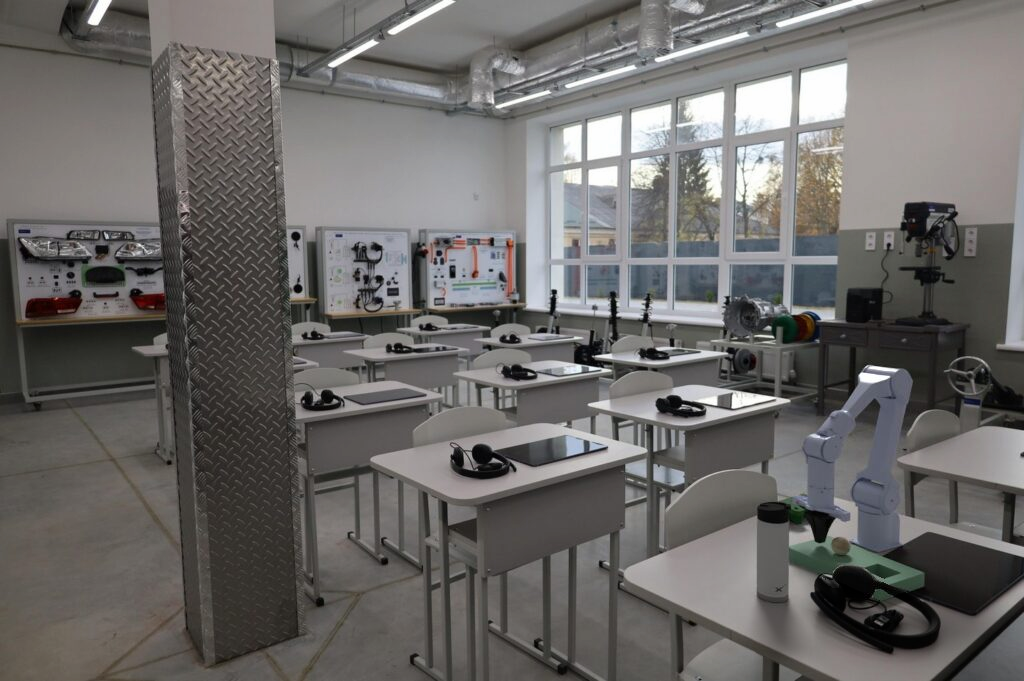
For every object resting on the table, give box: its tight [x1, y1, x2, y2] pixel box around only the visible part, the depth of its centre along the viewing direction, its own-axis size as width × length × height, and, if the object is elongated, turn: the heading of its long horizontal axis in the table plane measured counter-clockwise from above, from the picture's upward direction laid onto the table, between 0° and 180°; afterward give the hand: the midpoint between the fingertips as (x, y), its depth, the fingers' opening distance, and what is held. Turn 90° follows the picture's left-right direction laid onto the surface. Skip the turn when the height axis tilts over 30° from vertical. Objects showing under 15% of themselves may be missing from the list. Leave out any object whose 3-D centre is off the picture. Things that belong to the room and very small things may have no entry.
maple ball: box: [831, 536, 851, 555], centre depth 154 cm, size 4×4×4 cm
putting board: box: [789, 535, 926, 602], centre depth 152 cm, size 24×14×3 cm, turn 25°
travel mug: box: [756, 501, 791, 603], centre depth 141 cm, size 6×7×20 cm
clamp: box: [777, 493, 809, 526], centre depth 185 cm, size 12×6×9 cm, turn 117°
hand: (820, 541), depth 159 cm, fingers closed
